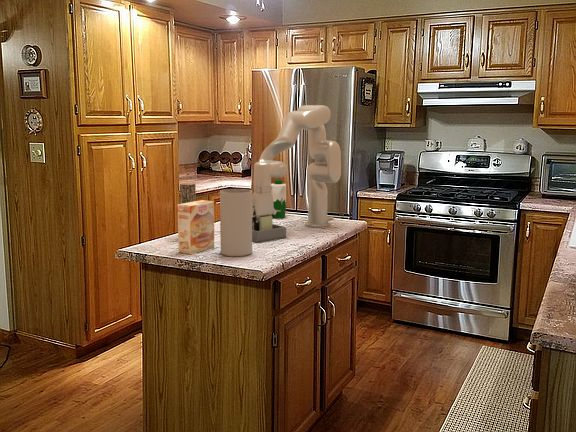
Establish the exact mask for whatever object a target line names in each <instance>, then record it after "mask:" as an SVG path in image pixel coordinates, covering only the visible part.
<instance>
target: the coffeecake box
mask: <svg viewBox="0 0 576 432" xmlns="http://www.w3.org/2000/svg"><path fill="white" fill-rule="evenodd" d="M176 206H177V239H178V240H177V244H178V245H177V247H178V248H177V249H178V250H177V252H178V253H182V254H186V253H187V254H186V255H192V254H197V253H201V252H204V251H206V250H209V249H213V248H215V201H212V200H203V199H201V200H196V201H194V202H189V203H183V204H180V203H179V204H177V205H176Z"/></svg>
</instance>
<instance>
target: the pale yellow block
mask: <svg viewBox="0 0 576 432" xmlns="http://www.w3.org/2000/svg"><path fill="white" fill-rule="evenodd" d="M256 219H257V217H256ZM272 224H273V219H272V216H267V215H265V216H260V217H259V231H262V230H268V229H272ZM253 230H254V222H253Z"/></svg>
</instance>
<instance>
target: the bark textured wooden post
mask: <svg viewBox="0 0 576 432" xmlns="http://www.w3.org/2000/svg"><path fill="white" fill-rule="evenodd" d="M196 189H197V188H196V182H195V181H181V182H179V204H183V203H189V202H194V201H197V200H196V199H197V198H196V197H197V195H196V193H197V192H196V191H197V190H196Z"/></svg>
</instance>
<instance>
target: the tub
mask: <svg viewBox="0 0 576 432" xmlns="http://www.w3.org/2000/svg"><path fill="white" fill-rule="evenodd" d="M286 238H287V227H286V226H282V225H279V224H275V223H274V224H273V223H272V229H268V230H262V231H255V230H253V225H252V243H256V244H259V243H266V242H271V241H277V240H282V239H283V240H284V239H286Z"/></svg>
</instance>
